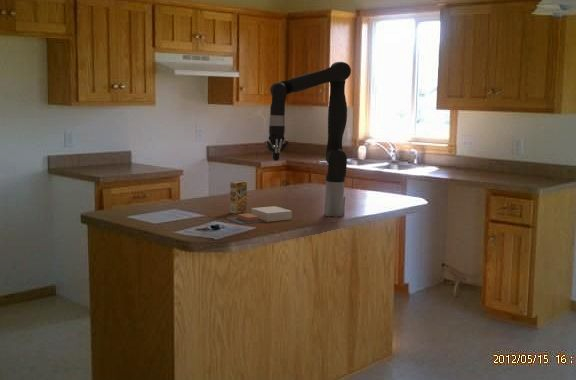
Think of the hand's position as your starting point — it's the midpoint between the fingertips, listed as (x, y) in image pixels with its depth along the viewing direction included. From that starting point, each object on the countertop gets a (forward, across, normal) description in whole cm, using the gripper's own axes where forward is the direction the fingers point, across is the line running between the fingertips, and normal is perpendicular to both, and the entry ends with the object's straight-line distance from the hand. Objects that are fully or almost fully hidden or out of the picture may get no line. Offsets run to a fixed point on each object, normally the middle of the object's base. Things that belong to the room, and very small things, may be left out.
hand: (275, 160), depth 331 cm
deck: (+27, +5, +5) cm, 28 cm away
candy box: (+27, +12, -14) cm, 33 cm away
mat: (+27, +20, +5) cm, 34 cm away
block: (+25, +18, +5) cm, 31 cm away
